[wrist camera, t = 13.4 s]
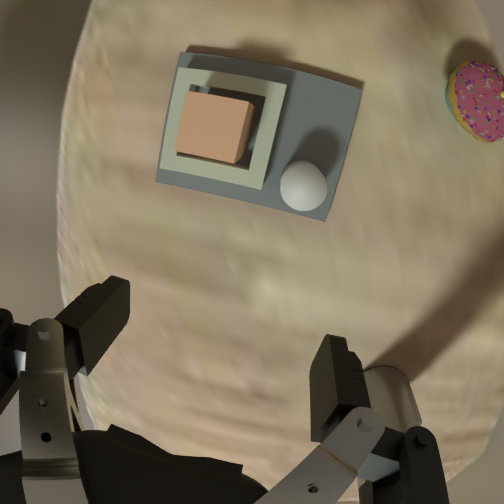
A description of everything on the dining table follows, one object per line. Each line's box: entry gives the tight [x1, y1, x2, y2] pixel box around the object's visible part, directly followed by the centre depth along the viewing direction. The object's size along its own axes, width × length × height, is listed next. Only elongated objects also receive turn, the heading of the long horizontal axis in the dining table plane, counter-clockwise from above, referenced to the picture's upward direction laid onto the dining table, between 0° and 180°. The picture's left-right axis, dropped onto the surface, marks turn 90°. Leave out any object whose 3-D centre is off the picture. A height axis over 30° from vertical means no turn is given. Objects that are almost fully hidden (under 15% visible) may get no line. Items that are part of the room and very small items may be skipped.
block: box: [174, 91, 256, 164], centre depth 24 cm, size 5×5×6 cm
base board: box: [156, 52, 362, 222], centre depth 26 cm, size 18×14×5 cm
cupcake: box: [445, 61, 504, 143], centre depth 18 cm, size 9×8×12 cm
